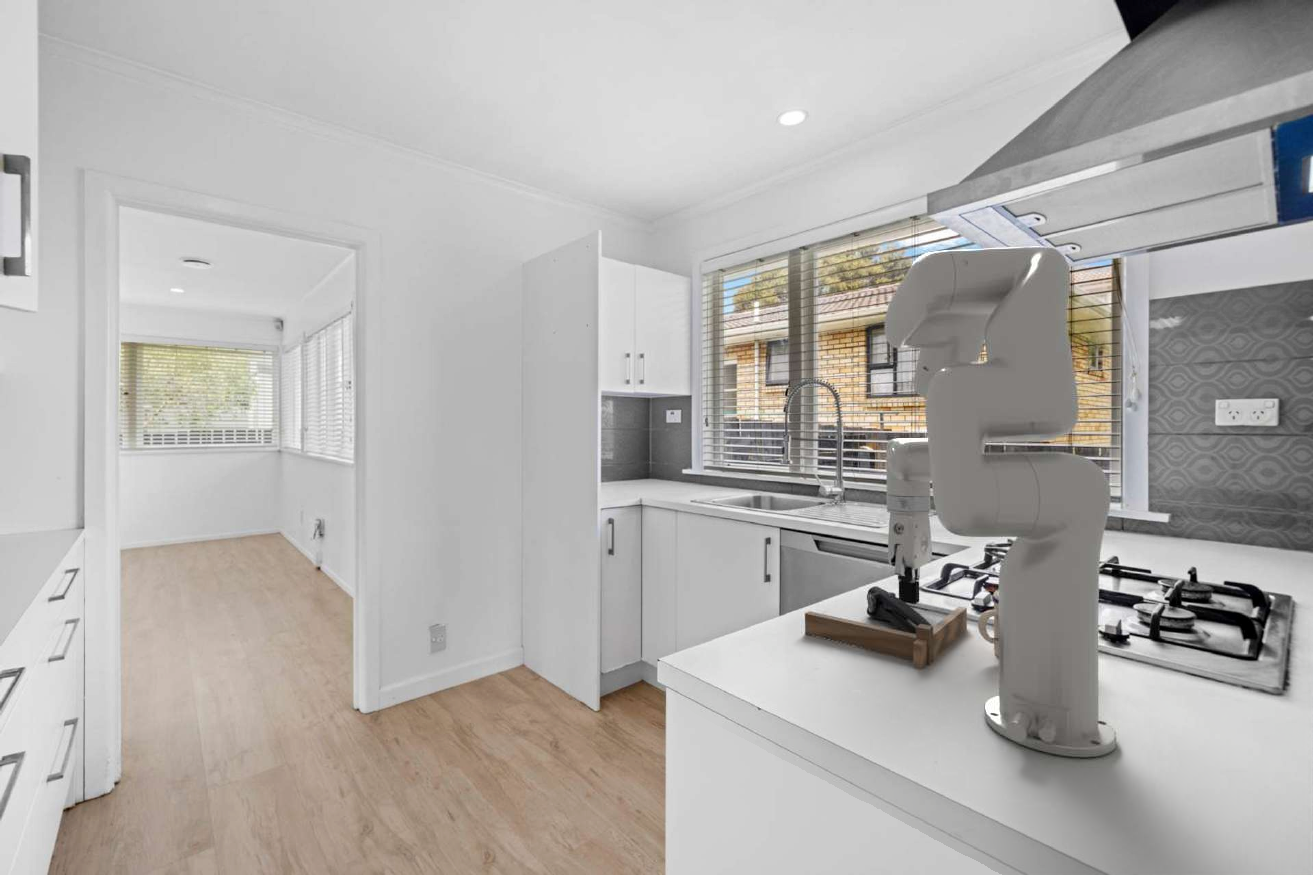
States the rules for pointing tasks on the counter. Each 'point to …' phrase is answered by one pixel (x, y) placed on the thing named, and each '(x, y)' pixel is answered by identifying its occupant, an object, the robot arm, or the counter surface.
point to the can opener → (893, 610)
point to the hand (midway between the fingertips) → (909, 601)
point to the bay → (891, 635)
